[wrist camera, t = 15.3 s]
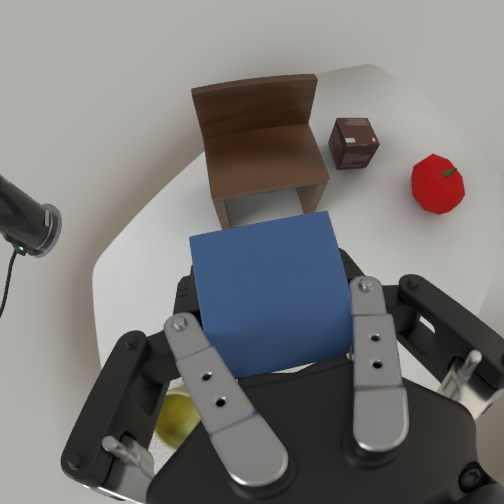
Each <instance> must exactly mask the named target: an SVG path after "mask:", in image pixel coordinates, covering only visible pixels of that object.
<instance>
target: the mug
mask: <svg viewBox="0 0 504 504" xmlns="http://www.w3.org/2000/svg"><path fill="white" fill-rule="evenodd" d="M200 420H201V419H200V417H199V415H198V412H197V410H196V408H195V406H194V404H193V402H192V400H191V398H190V395H189V393H188V391H187V389H186V386H185V384H184V385H182V386H181V387H177V388H173V389H170V390H168V391H167V393H166V396H165V399H164V402H163V405H162V408H161V411H160V414H159V417H158V420H157V423H156V426H155V429H154V433H155V435H156V437H157V438H158V440H159V441H160V442H161V443H162V444H163V445H165V446H166V447H168V448H169V449H171V450H172V451H174V452H175V451H176V450H177V449H178V448H179V446H180V445H181V444H182V443H183V441H184V440H185V439H186V438H187V436H188V435H189V434H190V432H191V431H192V430H193V429H194V427H195V426H196V425H197V424H198V422H199V421H200Z"/></svg>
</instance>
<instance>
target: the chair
mask: <svg viewBox="0 0 504 504" xmlns="http://www.w3.org/2000/svg"><path fill="white" fill-rule="evenodd" d="M317 81H318V79H317V78H316V76H315V74H299V75H283V76H270V77H261V78H252V79H244V80H237V81H231V82H224V83H218V84H213V85H208V86H203V87H197V88H193V89H191V93H192V98H193V102H194V106H195V110H196V114H197V117H198V121H199V125H200V128H201V132H202V136H203V141H204V148H205V156H206V163H207V170H208V177H209V184H210V191H211V197H212V200H213V203H214V206H215V209H216V212H217V215H218V218H219V221H220V224H221V227H222V230H225V229H230V222H229V217H228V211H227V205H226V200H225V199H231V198H236V197H241V196H247V195H252V194H258V193H264V192H269V191H275V190H281V189H288V188H294V187H296V188H297V192H298V195H299V199H300V202H301V205H302V209H303V212H304V215H305V214H311V213H314V211H315V209H316V207H317V205H318V203H319V200H320V198H321V196H322V194H323V191H324V189H325V187H326V185H327V182H328V180H329V175H328V172H327V170H326V167H325V164H324V162H323V159H322V156H321V154H320V151H319V149H318V146H317V144H316V141H315V139H314V136H313V134H312V131H311V129H310V127H309V124H308V123H309V118H310V114H311V109H312V104H313V100H314V95H315V90H316V85H317Z"/></svg>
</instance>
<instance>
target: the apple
mask: <svg viewBox="0 0 504 504" xmlns="http://www.w3.org/2000/svg"><path fill="white" fill-rule="evenodd" d="M411 181H412V194H413V196H414V197H415V198H416V199H417V201H418V202H419V203H420V205H421V206H422V207H423V209H424V210H427V211H430V212H433V213H436V214H442V213H446V212H450V211H451V210H452V209H453V208H454V207H456V206H457V205H458V204H459V203H460V202H461V201H462V199H463V197H464V196H465V191H464V185H463V180H462V176H461V175H460V173H459V172H458V171H457V168H455V167H454V166H453V164H452V163H451V162H450V161H449V160H448V159H445V158H443V157H440V156H438V155H435V154H432V155H430V156H429V157H427V158H425V159H424V160H422V161H421V162H419V163H418V164H416V165H415V166H414V167H413V172H412V177H411Z"/></svg>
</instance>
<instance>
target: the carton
mask: <svg viewBox="0 0 504 504" xmlns="http://www.w3.org/2000/svg"><path fill="white" fill-rule="evenodd" d="M189 240H190V248H191V255H192V262H193V269H194V276H195V283H196V289H197V295H198V301H199V307H200V313H201V319H202V324H203V330H204V333H205V335H206V337H207V338H208V340H209V342H210V343H211V345H214V346H215V348H216V349H217V351H218V353H219V354H220V356H221V358H222V359H223V361H224V362H225V364H226V366H227V367H228V369H229V370H230V372H231V373H232V375H233V377H234V378H235V379H238V378H240V377H246V376H252V375H257V374H262V373H271V372H276V371H281V370H285V369H290V368H294V367H298V366H303V365H307V364H311V363H314V362H318V361H320V360H323V359H327V358H331V357H334V356H338V355H341V354H345V353H346V354H347V353H348V349H349V336H350V301H352V298H351V293H350V289H349V285H348V281H347V277H346V274H345V270H344V266H343V262H342V259H341V255H340V251H339V248H338V244H337V241H336V237H335V234H334V231H333V227H332V224H331V221H330V217H329V214H328V212H327V211H322V212H317V213H311V214H305V215H300V216H294V217H288V218H283V219H278V220H272V221H267V222H261V223H256V224H251V225H246V226H241V227H235V228H230V229H225V230H220V231H215V232H210V233H206V234H201V235H196V236H191V237H190V238H189Z"/></svg>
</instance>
